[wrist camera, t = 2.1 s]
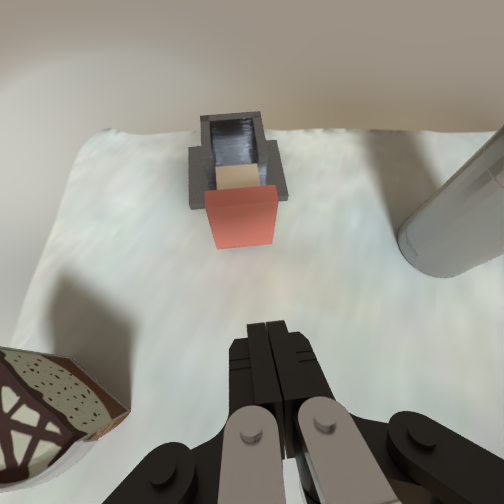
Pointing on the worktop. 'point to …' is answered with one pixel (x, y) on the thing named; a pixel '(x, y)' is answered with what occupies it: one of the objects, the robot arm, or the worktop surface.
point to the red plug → (241, 208)
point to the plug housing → (233, 154)
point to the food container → (48, 416)
